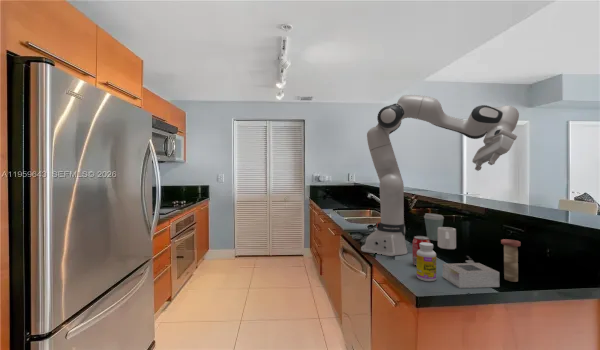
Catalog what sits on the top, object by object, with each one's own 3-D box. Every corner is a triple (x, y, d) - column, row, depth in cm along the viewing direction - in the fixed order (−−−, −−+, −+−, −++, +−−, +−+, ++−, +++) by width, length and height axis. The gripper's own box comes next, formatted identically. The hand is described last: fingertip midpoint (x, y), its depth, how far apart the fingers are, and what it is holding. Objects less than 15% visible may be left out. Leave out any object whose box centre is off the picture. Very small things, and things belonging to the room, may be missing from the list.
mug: (437, 244, 151) (437, 226, 151) (455, 246, 148) (455, 227, 148) (438, 250, 140) (438, 230, 140) (458, 251, 137) (457, 231, 137)
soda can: (433, 265, 116) (433, 237, 116) (427, 269, 111) (426, 240, 111) (416, 262, 121) (416, 234, 121) (409, 265, 116) (409, 237, 116)
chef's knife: (472, 271, 111) (481, 271, 110) (472, 268, 111) (481, 268, 110) (461, 257, 129) (468, 257, 128) (460, 254, 129) (468, 254, 128)
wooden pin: (503, 281, 99) (502, 242, 99) (500, 275, 104) (499, 238, 104) (523, 283, 96) (522, 243, 96) (518, 278, 101) (518, 240, 101)
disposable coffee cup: (437, 237, 168) (437, 212, 168) (448, 241, 158) (448, 215, 158) (420, 237, 168) (420, 213, 168) (430, 241, 157) (430, 215, 157)
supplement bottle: (422, 282, 98) (421, 246, 98) (413, 275, 105) (413, 241, 105) (440, 281, 99) (439, 245, 99) (430, 275, 105) (430, 241, 105)
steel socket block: (459, 288, 93) (459, 273, 93) (442, 277, 103) (442, 263, 103) (499, 286, 94) (499, 272, 94) (479, 276, 104) (479, 262, 104)
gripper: (475, 144, 129) (463, 169, 127) (504, 127, 109) (491, 156, 107) (488, 151, 128) (476, 176, 126) (520, 134, 108) (507, 164, 106)
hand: (483, 167), depth 116 cm, fingers open, 8 cm apart
